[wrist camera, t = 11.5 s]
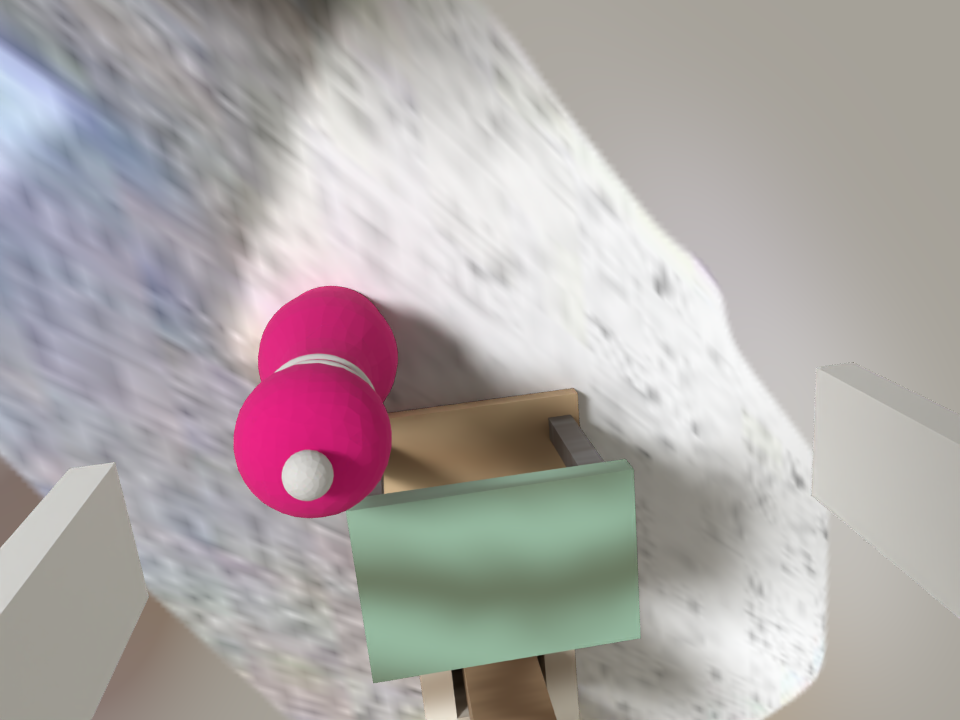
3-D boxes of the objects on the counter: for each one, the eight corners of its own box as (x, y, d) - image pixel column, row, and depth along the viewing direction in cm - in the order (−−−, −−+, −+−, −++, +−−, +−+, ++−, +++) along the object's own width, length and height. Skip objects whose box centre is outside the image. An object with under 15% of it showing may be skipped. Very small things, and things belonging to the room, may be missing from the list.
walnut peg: (456, 642, 51) (490, 839, 37) (450, 588, 50) (482, 771, 36) (517, 632, 52) (573, 824, 37) (512, 579, 50) (568, 755, 36)
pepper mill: (402, 284, 45) (425, 395, 26) (388, 403, 47) (400, 586, 28) (273, 269, 44) (200, 373, 25) (264, 391, 46) (188, 574, 27)
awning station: (344, 411, 47) (334, 513, 34) (572, 380, 48) (644, 467, 36) (384, 677, 52) (389, 849, 40) (589, 643, 54) (656, 798, 41)
